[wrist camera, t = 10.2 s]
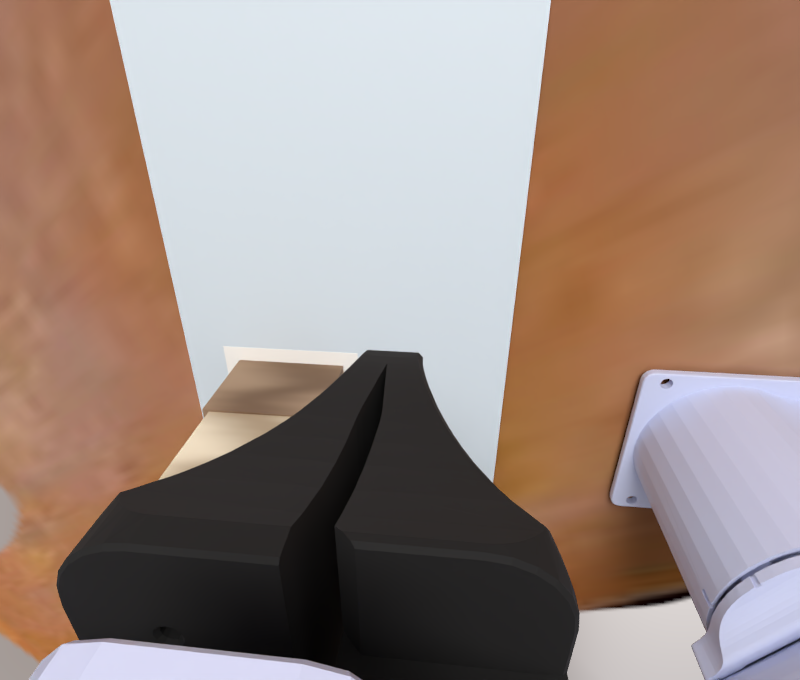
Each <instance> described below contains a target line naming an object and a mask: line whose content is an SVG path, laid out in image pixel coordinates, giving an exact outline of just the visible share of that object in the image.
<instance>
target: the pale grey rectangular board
mask: <svg viewBox="0 0 800 680" xmlns="http://www.w3.org/2000/svg"><path fill="white" fill-rule="evenodd" d="M110 4H111V8H112V13H113V17H114V22H115V26H116V31H117V35H118V39H119V44H120V48H121V53H122V57H123V62H124V66H125V71H126V75H127V80H128V84H129V89H130V93H131V98H132V102H133V106H134V111H135V115H136V120H137V124H138V129H139V133H140V138H141V142H142V147H143V151H144V156H145V160H146V165H147V169H148V173H149V178H150V182H151V187H152V191H153V196H154V200H155V205H156V209H157V214H158V218H159V223H160V227H161V232H162V236H163V240H164V245H165V249H166V254H167V258H168V263H169V267H170V272H171V276H172V281H173V285H174V290H175V294H176V299H177V303H178V307H179V312H180V316H181V321H182V325H183V330H184V334H185V339H186V343H187V348H188V352H189V357H190V361H191V366H192V370H193V374H194V379H195V383H196V388H197V392H198V397H199V401H200V406H201V410H202V409H203V408H204V406H205V405H206V404H207V402H208V401H209V400H210V398H211V397H212V396H213V394H214V393H215V392H216V390H217V389H218V388H219V387H220V385H221V384H222V383H223V381H224V380H225V379H226V377H227V376H228V375H229V373H230V372H231V371H232V369H233V368H234V367H235V365H236V364H237V363H238V361H239V360H251V361H269V362H286V363H303V364H321V365H338V366H343V371H344V372H345V371H346V370H347V369H348V368H349V367H350V366H351V365H352V364H353V363H354V362H355V361H356V360H357V359H358V358H359V357H360V356H361V355H362V354H363V353H364V352H365V351H367V350H380V351H398V352H417V353H419V354H420V355H421V356H422V357H423V368H424V372H425V376H426V379H427V382H428V385H429V388H430V390H431V393H432V395H433V397H434V400H435V402H436V404H437V406H438V408H439V410H440V412H441V414H442V416H443V418H444V419H445V421H446V423H447V425H448V426H449V428H450V430H451V431H452V433H453V435H454V436H455V438H456V439H457V440H458V442H459V443H460V445H461V446H462V448H463V449H464V450H465V452H466V453H467V454H468V455H469V457H470V458H471V459H472V461H473V462H474V463H475V464H476V465H477V466H478V467H479V469H480V470H481V471H482V472H483V473H484V474H485V475H486V476H487V477H488V478H489V479H490V480H491V482H492V483H493V479H494V470H495V462H496V454H497V445H498V437H499V429H500V420H501V412H502V404H503V395H504V387H505V379H506V370H507V362H508V354H509V345H510V337H511V329H512V320H513V312H514V304H515V295H516V287H517V279H518V270H519V262H520V254H521V245H522V237H523V229H524V220H525V212H526V204H527V195H528V187H529V179H530V170H531V162H532V154H533V145H534V137H535V129H536V120H537V112H538V104H539V95H540V87H541V79H542V71H543V62H544V54H545V46H546V37H547V29H548V21H549V12H550V4H551V0H110ZM202 415H203V411H202ZM203 419H204V416H203Z"/></svg>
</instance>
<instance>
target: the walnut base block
mask: <svg viewBox="0 0 800 680" xmlns="http://www.w3.org/2000/svg"><path fill="white" fill-rule="evenodd" d="M343 373H344V371H343V366H338V365H321V364H303V363H286V362H269V361H251V360H239V361H238V363H237V364H236V365H235V367H234V368H233V369H232V371H231V372H230V373H229V375H228V376H227V377H226V379H225V380H224V381H223V383H222V384H221V385H220V387H219V388H218V389H217V390H216V392H215V393H214V394H213V396H212V397H211V398H210V400H209V401H208V402H207V404H206V405H205V406H204V408H203V409H202V411H203V416H204V417H205V416H206V415H207V413H208V412H223V413H240V414H256V415H272V416H288V417H291V416H293V415H294V414H296V413H297V412H298V411H300V410H301V409H302V408H304V407H305V406H306V405H307V404H309V403H310V402H311V401H312V400H314V399H315V398H316V397H317V396H319V395H320V394H321V393H322V392H323V391H324V390H326V389H327V388H328V387H329V386H330V385H331V384H332V383H333V382H334V381H335V380H336V379H338V378H339V377H340V376H341V375H342V374H343Z"/></svg>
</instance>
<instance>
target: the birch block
mask: <svg viewBox="0 0 800 680" xmlns="http://www.w3.org/2000/svg"><path fill="white" fill-rule="evenodd" d="M288 418H290V417H288V416H272V415H256V414H240V413H223V412H208V413H207V415H206V416H205V417H204V419H203V420H202V421H201V423H200V424H199V425H198V427H197V428H196V430H195V431H194V432H193V434H192V435H191V436H190V438H189V439H188V440H187V442H186V443H185V445H184V446H183V447H182V449H181V450H180V451H179V453H178V454H177V455H176V457H175V458H174V460H173V461H172V462H171V464H170V465H169V466H168V468H167V469H166V470H165V472H164V473H163V475H162V476H161V477H160V479H159V480H161V479H164V478H167V477H170V476H173V475H176V474H178V473H181V472H184V471H186V470H189V469H191V468H194V467H196V466H199V465H201V464H204V463H206V462H208V461H211V460H213V459H215V458H217V457H220V456H222V455H224V454H226V453H228V452H231V451H232V450H234V449H236V448H238V447H240V446H242V445H244V444H246V443H248V442H250V441H251V440H253V439H255V438H257V437H259V436H261V435H263V434H265V433H266V432H268V431H270V430H271V429H273V428H274V427H276V426H278V425H279V424H281V423H282V422H284V421H285V420H287V419H288Z"/></svg>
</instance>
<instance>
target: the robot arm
mask: <svg viewBox="0 0 800 680" xmlns="http://www.w3.org/2000/svg"><path fill="white" fill-rule="evenodd" d="M664 379H670V380H669V381H668V382H667V383H666V384H660V383H661V382H662V381H663V380H664ZM630 496H634V497H632V498H628V497H630ZM610 499H611V501H612V503H613V504H615V505H618V506H630V507H643V508H652V509H653V512H654V514H655V516H656V518H657V521H658V523H659V525H660V528H661V530H662V532H663V534H664V537H665V539H666V541H667V543H668V546H669V548H670V550H671V553H672V555H673V557H674V559H675V562H676V564H677V566H678V568H679V571H680V573H681V575H682V578H683V580H684V582H685V584H686V587H687V589H688V591H689V593H690V596H691V598H692V600H693V603H694V605H695V607H696V609H697V611H698V614H699V616H700V618H701V621H702V623H703V625H704V628H705V630H706V634H705V635H704V636H703V637H702V638H701V639H700V640H698V641H697V642H695V643H693V644H692V649H693V652H694V654H695V657H696V659H697V661H698V664H699V667H700V669H701V672H702V674H703V676H704V679H705V680H800V377H783V376H765V375H746V374H728V373H710V372H691V371H673V370H649V371H647V372H645V373H644V374H643V375H642V377H641V379H640V383H639V386H638V390H637V394H636V398H635V401H634V405H633V409H632V412H631V416H630V420H629V423H628V427H627V431H626V435H625V438H624V442H623V446H622V449H621V453H620V457H619V461H618V464H617V468H616V472H615V475H614V479H613V483H612V487H611V490H610ZM57 589H58V593H59V596H60V599H61V603H62V606H63V608H64V610H65V612H66V614H67V616H68V618H69V620H70V622H71V624H72V626H73V628H74V630H75V632H76V634H77V636H78V638H79V640H75V641H72V642H68V643H65V644H62V645H61V646H59V647H58V648H57V649H56V650H54V651H53V652H52V653H51V654H49V655H48V656H47V657H46V658H44V659H43V660H42V661H41V662H40V664H39V665H38V667H37V668H36V670H35V671H34V673H33V674H32V675H31V677H30V678H29V679H28V680H568V677H567V670H568V666H569V663H570V659H571V656H572V652H573V648H574V645H575V641H576V637H577V634H578V630H579V609H578V605H577V600H576V596H575V593H574V589H573V586H572V583H571V581H570V578H569V575H568V572H567V570H566V567H565V565H564V562H563V560H562V557H561V555H560V553H559V550H558V548H557V546H556V544H555V542H554V539H553V537H552V535H551V533H550V531H549V530H548V529H547V528H546V527H545V526H544V525H542V524H541V523H540V522H539V521H537V520H536V519H535V518H533V517H532V516H531V515H529V514H528V513H527V512H525V511H524V510H523V509H522V508H520V507H519V506H518V505H516V504H515V503H514V502H512V501H511V500H510V499H509V498H508V497H507V496H506V495H505V494H503V493H502V492H501V491H500V490H499V489H498V488H497V487H496V486H495V485H494V484H493V483H492V482H491V480H490V479H489V478H488V477H487V476H486V475H485V474H484V473H483V472H482V471H481V470H480V469H479V467H478V466H477V465H476V464H475V463H474V462H473V461H472V459H471V458H470V457H469V455H468V454H467V453H466V452H465V450H464V449H463V448H462V446H461V445H460V443H459V442H458V440H457V439H456V438H455V436H454V435H453V433H452V431H451V430H450V428H449V426H448V425H447V423H446V421H445V419H444V418H443V416H442V414H441V412H440V410H439V408H438V406H437V404H436V402H435V400H434V397H433V395H432V393H431V390H430V388H429V385H428V382H427V379H426V376H425V372H424V368H423V357H422V356H421V355H420V354H419V353H417V352H398V351H380V350H367V351H365V352H364V353H363V354H362V355H361V356H360V357H359V358H358V359H357V360H356V361H355V362H354V363H353V364H352V365H351V366H350V367H349V368H348V369H347V370H346V371H345V372H344V373H343V374H342V375H341V376H340V377H339V378H338V379H336V380H335V381H334V382H333V383H332V384H331V385H330V386H329V387H328V388H327V389H326V390H324V391H323V392H322V393H321V394H320V395H319V396H317V397H316V398H315V399H314V400H312V401H311V402H310V403H309V404H307V405H306V406H305V407H304V408H302V409H301V410H300V411H298V412H297V413H296V414H294V415H293V416H291V417H290V418H288V419H287V420H285V421H284V422H282V423H281V424H279V425H278V426H276V427H274V428H273V429H271V430H270V431H268V432H266V433H265V434H263V435H261V436H259V437H257V438H255V439H253V440H251V441H250V442H248V443H246V444H244V445H242V446H240V447H238V448H236V449H234V450H232V451H231V452H228V453H226V454H224V455H222V456H220V457H217V458H215V459H213V460H211V461H208V462H206V463H204V464H201V465H199V466H196V467H194V468H191V469H189V470H186V471H184V472H181V473H178V474H176V475H173V476H170V477H167V478H164V479H161V480H158V481H155V482H152V483H149V484H146V485H143V486H140V487H137V488H134V489H130V490H127V491H123V492H120V493H119V494H118V496H117V497H116V498H115V499H114V500H113V501H112V502H111V504H110V505H109V506H108V507H107V508H106V509H105V511H104V512H103V513H102V514H101V515H100V517H99V518H98V519H97V520H96V522H95V523H94V524H93V525H92V527H91V528H90V529H89V531H88V532H87V533H86V534H85V536H84V537H83V538H82V539H81V541H80V542H79V543H78V544H77V546H76V547H75V548H74V549H73V551H72V552H71V553H70V554H69V556H68V557H67V558H66V560H65V561H64V563H63V564H62V566H61V567H60V569H59V570H58V577H57Z"/></svg>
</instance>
